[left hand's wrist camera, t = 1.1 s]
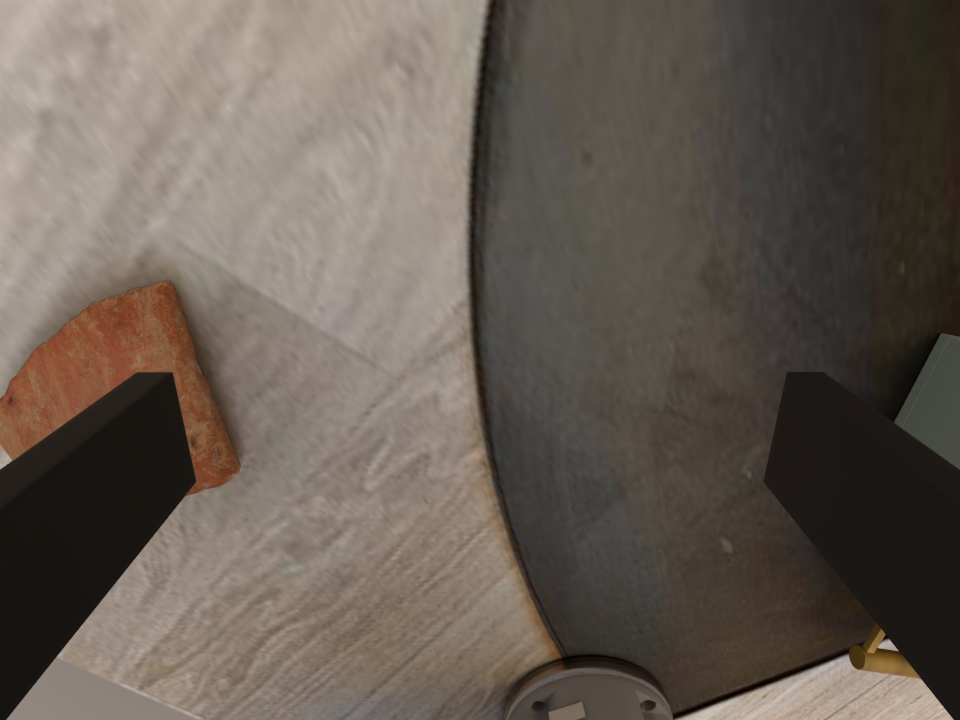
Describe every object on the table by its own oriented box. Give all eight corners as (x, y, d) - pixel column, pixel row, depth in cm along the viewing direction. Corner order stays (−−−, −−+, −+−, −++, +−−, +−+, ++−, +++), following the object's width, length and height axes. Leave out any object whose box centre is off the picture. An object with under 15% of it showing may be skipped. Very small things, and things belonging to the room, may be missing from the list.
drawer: (917, 640, 49) (976, 710, 43) (804, 624, 48) (849, 693, 42) (1071, 404, 40) (1171, 451, 35) (937, 379, 40) (1016, 423, 34)
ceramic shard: (-103, 327, 33) (162, 282, 35) (-23, 311, 40) (199, 273, 41) (-9, 549, 37) (227, 501, 38) (51, 502, 43) (252, 462, 45)
